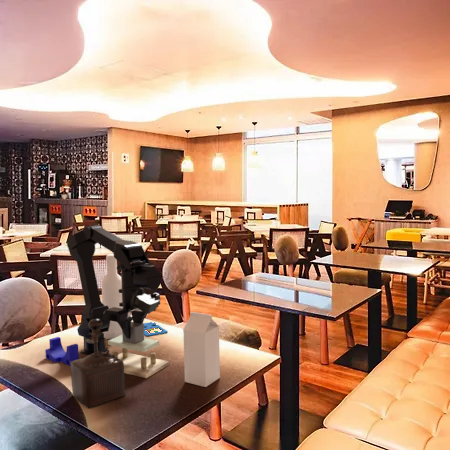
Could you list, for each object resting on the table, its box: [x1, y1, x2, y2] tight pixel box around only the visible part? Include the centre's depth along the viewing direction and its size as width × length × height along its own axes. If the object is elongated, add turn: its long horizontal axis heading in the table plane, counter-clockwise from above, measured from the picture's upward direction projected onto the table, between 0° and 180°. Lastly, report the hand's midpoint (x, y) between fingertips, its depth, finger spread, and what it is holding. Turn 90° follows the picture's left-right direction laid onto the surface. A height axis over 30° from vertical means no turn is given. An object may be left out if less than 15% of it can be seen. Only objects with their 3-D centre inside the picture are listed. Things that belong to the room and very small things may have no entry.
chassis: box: [111, 347, 170, 379], centre depth 137 cm, size 18×11×4 cm, turn 61°
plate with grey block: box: [107, 321, 160, 353], centre depth 137 cm, size 7×14×6 cm, turn 61°
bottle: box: [101, 253, 123, 340], centre depth 164 cm, size 8×8×30 cm
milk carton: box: [182, 311, 221, 388], centre depth 125 cm, size 7×7×19 cm
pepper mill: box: [70, 319, 126, 409], centre depth 119 cm, size 16×11×18 cm
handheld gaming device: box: [143, 321, 168, 338], centre depth 173 cm, size 8×1×15 cm
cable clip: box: [44, 336, 80, 367], centre depth 143 cm, size 12×4×6 cm, turn 49°
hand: (133, 336), depth 137 cm, fingers closed on plate with grey block, 4 cm apart
